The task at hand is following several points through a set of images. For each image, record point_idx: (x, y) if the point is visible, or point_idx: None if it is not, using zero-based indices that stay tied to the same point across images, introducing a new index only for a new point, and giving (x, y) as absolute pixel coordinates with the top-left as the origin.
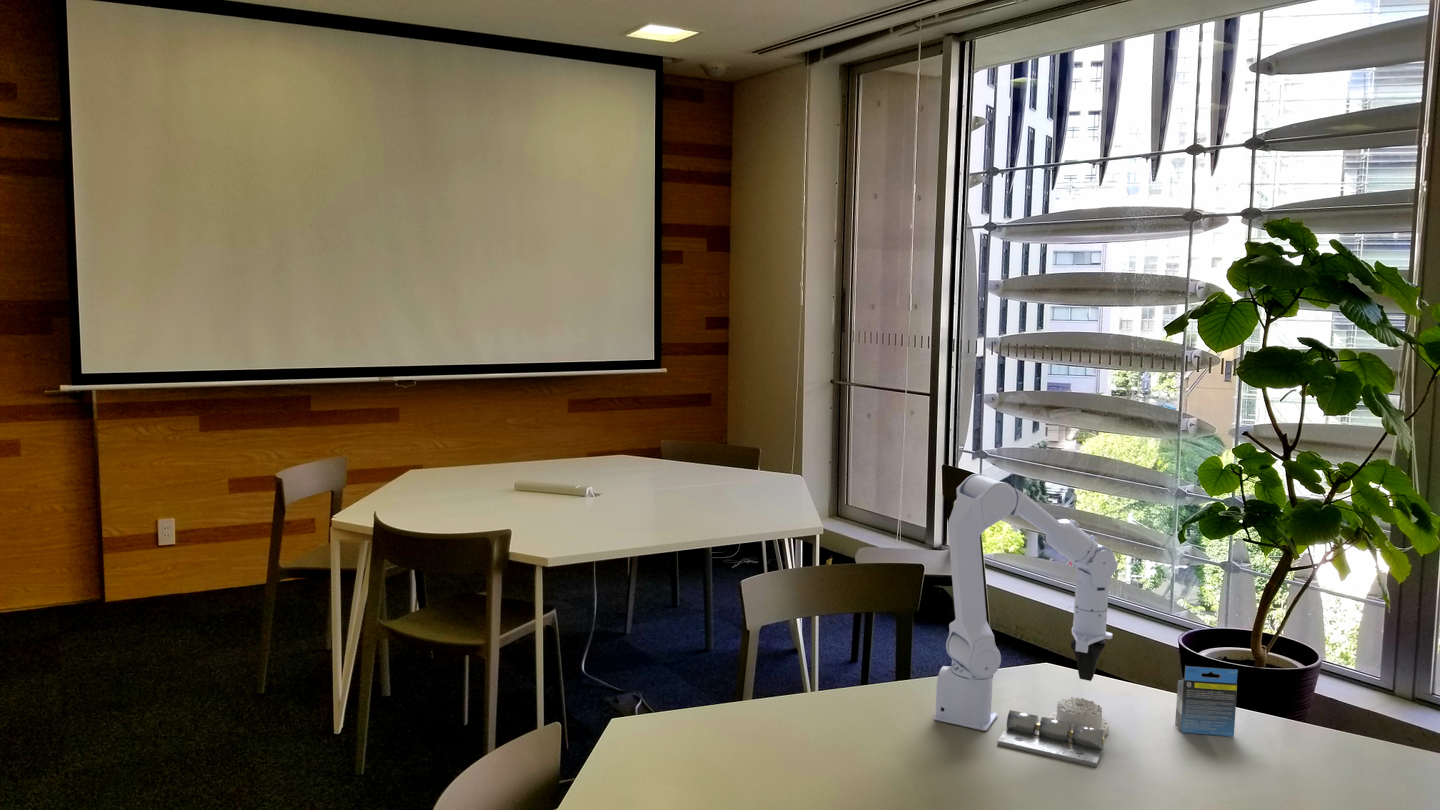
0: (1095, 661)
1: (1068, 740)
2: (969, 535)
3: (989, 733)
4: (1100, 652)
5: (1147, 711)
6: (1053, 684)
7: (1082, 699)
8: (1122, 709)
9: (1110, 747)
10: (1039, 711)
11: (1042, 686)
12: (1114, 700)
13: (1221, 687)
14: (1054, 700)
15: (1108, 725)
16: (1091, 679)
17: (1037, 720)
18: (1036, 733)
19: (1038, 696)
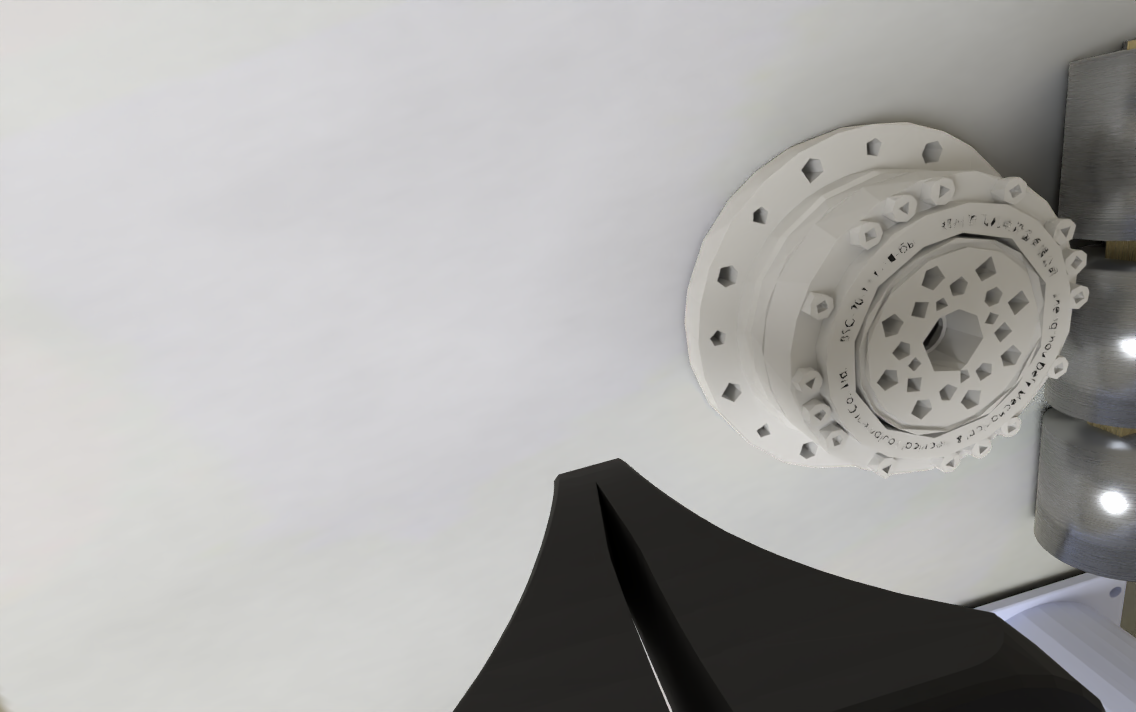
0: (769, 554)
1: (1090, 251)
2: None
3: None
4: (993, 614)
5: (245, 52)
6: (335, 676)
7: (837, 373)
8: (370, 218)
9: (1018, 35)
10: (759, 536)
11: (416, 691)
12: (255, 327)
13: None
14: None
15: (831, 138)
16: (624, 462)
17: (1113, 443)
18: (1049, 411)
19: None
